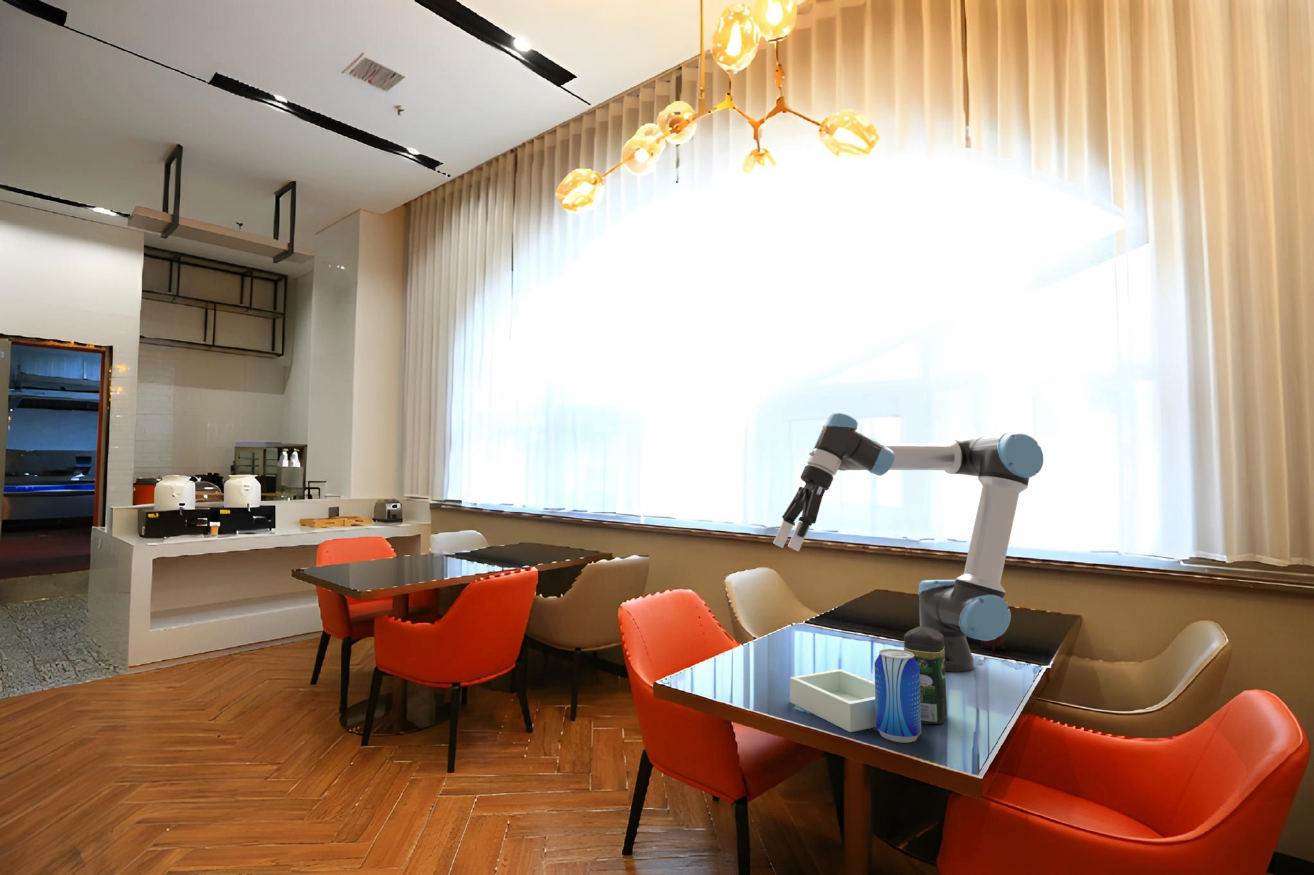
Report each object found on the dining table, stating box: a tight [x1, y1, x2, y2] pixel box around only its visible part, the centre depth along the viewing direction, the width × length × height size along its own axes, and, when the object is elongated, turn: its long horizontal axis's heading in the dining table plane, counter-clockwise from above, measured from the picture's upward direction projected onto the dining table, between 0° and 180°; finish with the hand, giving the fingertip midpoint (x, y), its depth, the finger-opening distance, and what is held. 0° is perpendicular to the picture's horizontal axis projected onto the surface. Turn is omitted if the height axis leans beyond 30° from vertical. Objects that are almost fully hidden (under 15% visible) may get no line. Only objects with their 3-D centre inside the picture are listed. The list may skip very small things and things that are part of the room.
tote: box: [789, 668, 876, 733], centre depth 139 cm, size 15×19×6 cm
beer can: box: [874, 648, 922, 744], centre depth 126 cm, size 8×8×16 cm
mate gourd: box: [980, 600, 1010, 652], centre depth 192 cm, size 8×8×15 cm
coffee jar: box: [903, 626, 948, 725], centre depth 135 cm, size 10×8×19 cm
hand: (785, 547), depth 156 cm, fingers open, 13 cm apart
